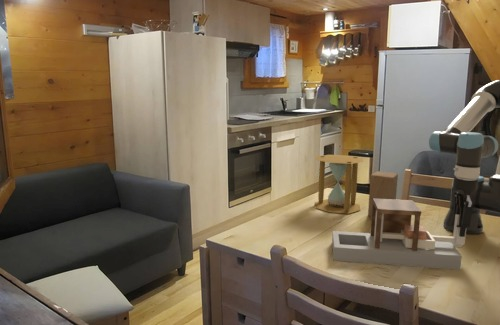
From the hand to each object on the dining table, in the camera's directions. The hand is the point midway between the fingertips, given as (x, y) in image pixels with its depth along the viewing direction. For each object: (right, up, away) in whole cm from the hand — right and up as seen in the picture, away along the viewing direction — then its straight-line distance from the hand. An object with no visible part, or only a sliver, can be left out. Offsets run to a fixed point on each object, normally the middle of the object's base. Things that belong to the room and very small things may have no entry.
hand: (458, 242), depth 147 cm
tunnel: (-22, -1, +3) cm, 22 cm away
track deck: (-22, -6, +5) cm, 23 cm away
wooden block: (-12, +3, +49) cm, 50 cm away
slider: (-14, -1, +2) cm, 14 cm away
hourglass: (-30, +6, +62) cm, 69 cm away
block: (-15, -1, +3) cm, 15 cm away
